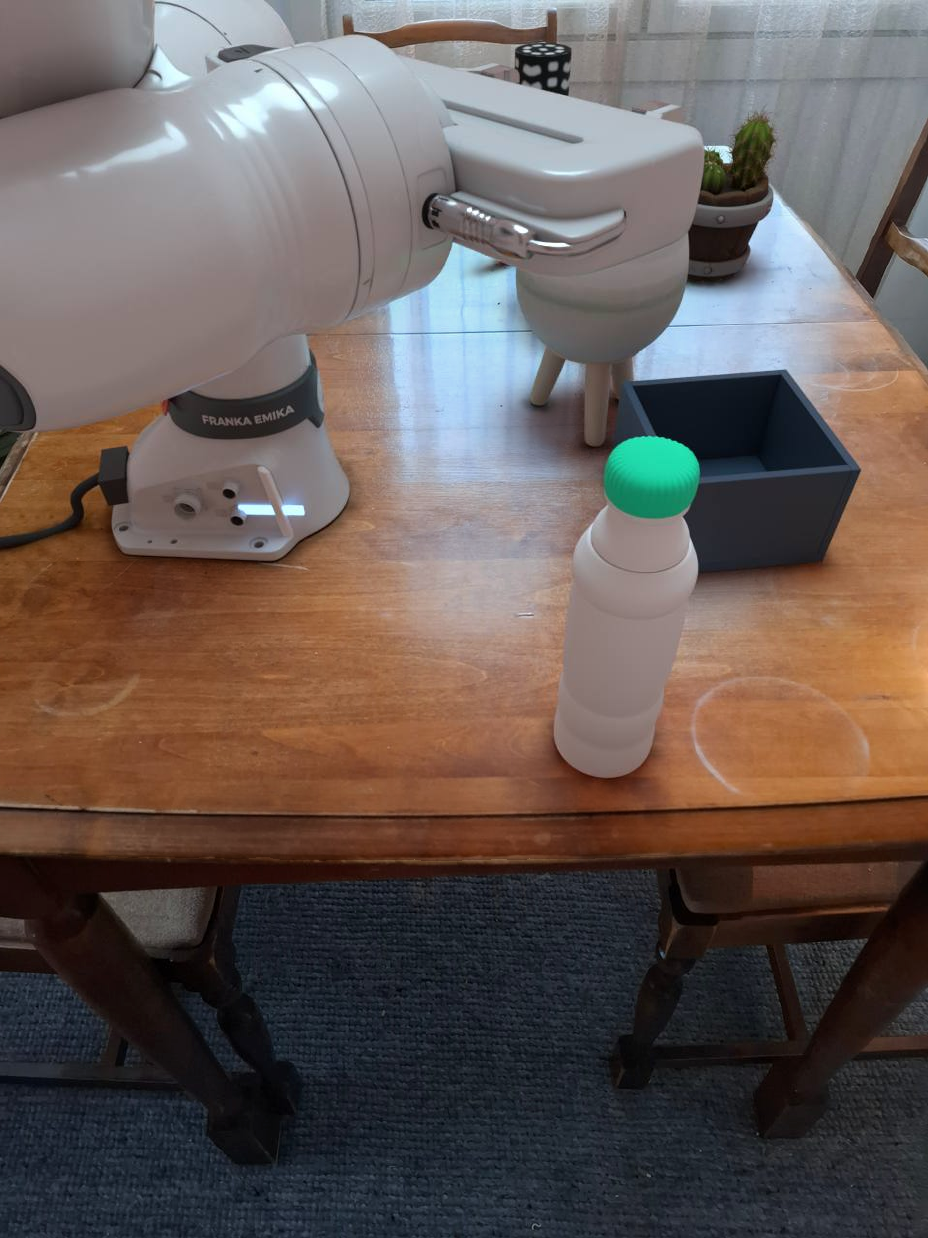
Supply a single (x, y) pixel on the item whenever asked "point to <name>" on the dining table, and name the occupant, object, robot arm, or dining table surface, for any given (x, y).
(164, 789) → the dining table surface
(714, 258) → the flowerpot
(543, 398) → the planter
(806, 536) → the bin
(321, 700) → the dining table surface
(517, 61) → the white-spotted black cylinder
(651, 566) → the water bottle
